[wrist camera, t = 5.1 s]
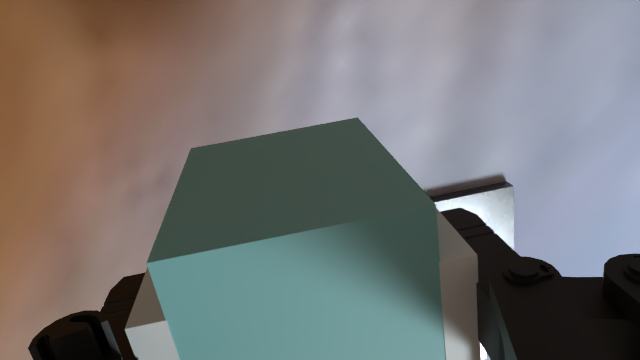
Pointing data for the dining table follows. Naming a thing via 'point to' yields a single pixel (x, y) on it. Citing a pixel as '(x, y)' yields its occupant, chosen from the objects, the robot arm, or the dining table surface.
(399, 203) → the teal block
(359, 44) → the dining table surface
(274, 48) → the dining table surface
